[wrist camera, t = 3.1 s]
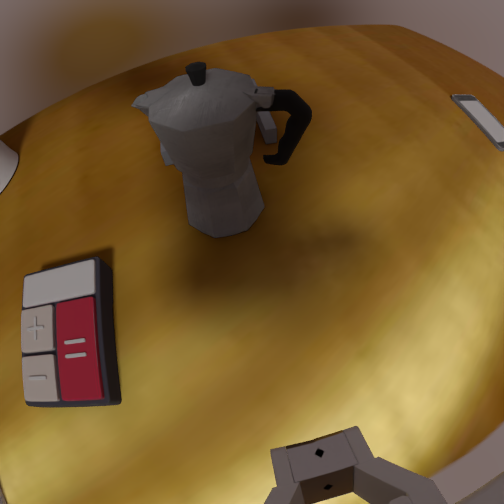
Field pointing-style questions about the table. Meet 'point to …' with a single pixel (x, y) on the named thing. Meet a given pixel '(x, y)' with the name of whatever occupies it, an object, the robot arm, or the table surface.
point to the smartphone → (482, 119)
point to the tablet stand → (2, 498)
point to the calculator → (69, 336)
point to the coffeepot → (220, 141)
